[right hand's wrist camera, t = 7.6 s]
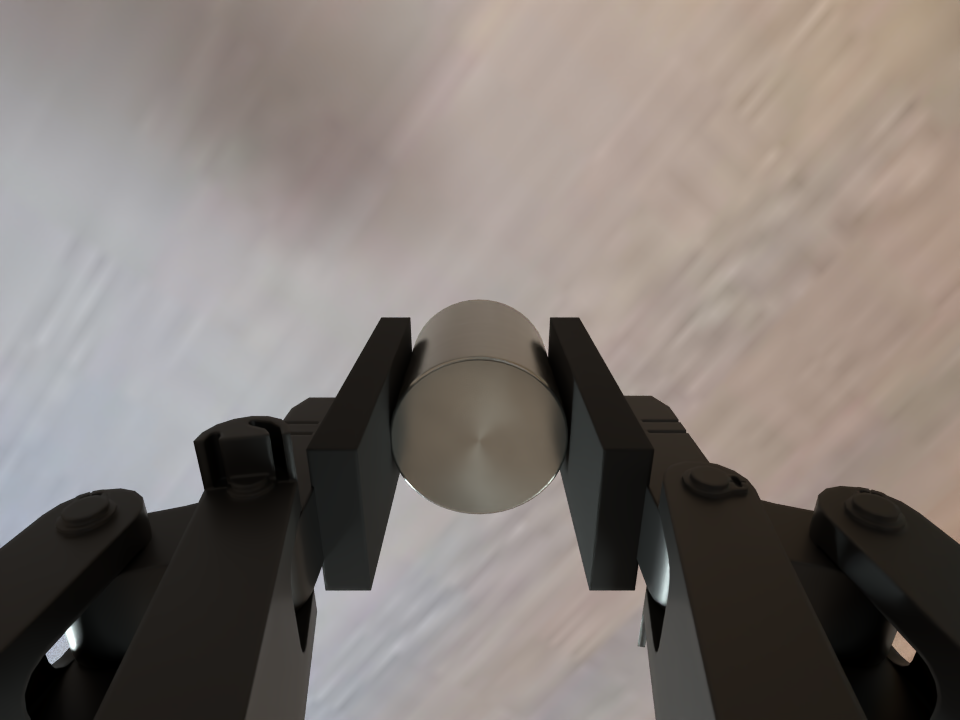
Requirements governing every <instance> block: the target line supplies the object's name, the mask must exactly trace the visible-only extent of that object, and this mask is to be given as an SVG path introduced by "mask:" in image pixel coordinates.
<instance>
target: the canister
mask: <svg viewBox="0 0 960 720" xmlns="http://www.w3.org/2000/svg"><path fill="white" fill-rule="evenodd" d="M390 442H391V452H392V456H393V459H394V462H395V464H396V466H397V468H398V470H399V472H400V473H401V475H402V476H403V478H404V479H405V480H406V482H407V483H408V484H409V485H410V486H411V487H412V488H413V489H414V490H415V491H416V492H417V493H419V494H420V495H421V496H423V497H424V498H426V499H427V500H429V501H430V502H432V503H434V504H436V505H438V506H441V507H443V508H446V509H449V510H453V511H456V512H461V513H468V514H490V513H497V512H502V511H506V510H509V509H513V508H515V507H517V506H520V505H522V504H524V503H526V502H528V501H529V500H531V499H533V498H534V497H535V496H537V495H538V494H540V493H541V492H542V491H543V490H544V489H545V488H546V487H547V486H548V485H549V484H550V483H551V482H552V480H553V479H554V478H555V476H556V475H557V473H558V472H559V470H560V468H561V466H562V464H563V462H564V460H565V457H566V453H567V450H568V444H569V425H568V419H567V415H566V412H565V409H564V406H563V403H562V400H561V397H560V394H559V390H558V387H557V384H556V381H555V378H554V375H553V372H552V369H551V366H550V363H549V359H548V356H547V353H546V350H545V347H544V344H543V341H542V339H541V337H540V335H539V333H538V331H537V330H536V328H535V327H534V325H533V324H532V323H531V322H530V321H529V320H528V319H527V318H526V317H525V316H524V315H523V314H522V313H520V312H519V311H517V310H515V309H514V308H512V307H510V306H508V305H505V304H502V303H499V302H496V301H490V300H468V301H463V302H459V303H456V304H453V305H451V306H449V307H447V308H445V309H443V310H441V311H440V312H438V313H437V314H436V315H435V316H433V317H432V318H431V319H430V320H429V321H428V322H427V323H426V325H425V326H424V327H423V329H422V330H421V332H420V333H419V335H418V338H417V340H416V342H415V345H414V348H413V351H412V354H411V357H410V360H409V363H408V367H407V370H406V373H405V376H404V379H403V382H402V385H401V388H400V391H399V394H398V397H397V400H396V403H395V406H394V409H393V412H392V416H391V419H390Z"/></svg>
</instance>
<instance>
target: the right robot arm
mask: <svg viewBox="0 0 960 720" xmlns="http://www.w3.org/2000/svg"><path fill="white" fill-rule="evenodd" d="M411 354H412V342H411V322H410V318H381V319H380V321H379V323H378V324H377V326H376V328H375V330H374V331H373V333H372V335H371V337H370V338H369V340H368V342H367V344H366V345H365V347H364V349H363V351H362V352H361V354H360V356H359V358H358V359H357V361H356V363H355V365H354V366H353V368H352V370H351V372H350V373H349V375H348V377H347V379H346V380H345V382H344V384H343V386H342V387H341V389H340V391H339V393H338V394H337V396H336V398H308V399H306V400H305V401H303V402H301V403H300V404H298V405H297V406H295V407H293V408H292V409H291V410H290V412H289V413H288V414H287V416H286V417H285V418H284V420H282V419H278V418H274V417H270V416H250V417H243V418H237V419H233V420H229V421H226V422H223V423H220V424H217V425H215V426H213V427H212V428H210V429H208V430H206V431H204V432H202V433H201V434H200V435H199V436H198V437H197V438H196V439H195V440H194V441H193V442H194V446H195V450H196V455H197V459H198V464H199V468H200V472H201V477H202V481H203V485H204V492H203V494H202V496H201V498H200V501H199V503H195V504H191V505H187V506H183V507H178V508H172V509H167V510H162V511H157V512H152V513H147V511H146V507H145V504H144V500H143V497H142V496H140V495H139V494H138V493H137V492H135V491H132V490H126V489H121V488H120V489H108V490H97V491H92V493H90V492H88V493H85V494H81V495H79V496H77V497H75V498H73V499H71V500H69V501H66V502H64V503H62V504H59V505H58V506H56V507H55V508H53V509H52V510H50V511H48V512H47V513H45V514H44V515H42V516H41V517H40V518H38V519H37V520H36V521H35V522H33V523H32V524H31V525H29V526H28V527H27V528H26V529H24V530H23V531H22V532H21V533H19V534H18V535H17V536H16V537H14V538H13V539H12V540H10V541H9V542H8V543H7V544H5V545H4V546H3V547H2V548H0V720H304V718H305V710H306V701H307V693H308V684H309V676H310V667H311V659H312V650H313V642H314V633H315V625H316V616H317V608H316V601H315V594H314V586H315V583H316V581H317V578H318V575H319V573H320V570H321V567H322V568H323V575H324V582H325V589H326V590H371V588H372V584H373V580H374V576H375V572H376V567H377V563H378V559H379V555H380V551H381V547H382V543H383V539H384V535H385V531H386V527H387V523H388V518H389V514H390V510H391V506H392V502H393V498H394V494H395V490H396V486H397V482H398V478H399V474H400V472H399V470H398V468H397V466H396V464H395V462H394V459H393V456H392V452H391V442H390V419H391V416H392V412H393V409H394V406H395V403H396V400H397V397H398V394H399V391H400V388H401V385H402V382H403V379H404V376H405V373H406V370H407V367H408V363H409V360H410V357H411ZM548 359H549V363H550V366H551V369H552V372H553V375H554V378H555V381H556V384H557V387H558V390H559V394H560V397H561V400H562V403H563V406H564V409H565V412H566V415H567V419H568V425H569V444H568V450H567V453H566V457H565V460H564V462H563V464H562V466H561V468H560V472H561V476H562V480H563V484H564V488H565V492H566V496H567V501H568V505H569V509H570V513H571V517H572V521H573V525H574V529H575V533H576V537H577V541H578V545H579V550H580V554H581V558H582V562H583V566H584V570H585V574H586V578H587V582H588V586H589V590H635V585H636V578H637V571H638V564H639V566H640V569H641V572H642V574H643V577H644V580H645V582H646V585H647V587H646V594H645V601H644V607H643V614H642V621H641V627H640V634H639V641H638V646H640V647H645V644H646V640H647V649H648V657H649V666H650V675H651V683H652V692H653V700H654V709H655V717H656V720H960V544H958V543H957V542H956V541H955V540H953V539H952V538H951V537H949V536H948V535H947V534H946V533H944V532H943V531H942V530H941V529H939V528H938V527H937V526H935V525H934V524H933V523H932V522H930V521H929V520H928V519H926V518H925V517H924V516H923V515H921V514H920V513H919V512H917V511H916V510H914V509H912V508H911V507H909V506H908V505H906V504H904V503H903V502H901V501H899V500H896V499H894V498H892V497H889V496H887V495H885V494H884V493H882V492H878V491H875V490H869V489H867V488H861V487H846V486H838V487H832V488H827V489H825V490H824V491H823V492H821V493H820V494H819V495H818V498H817V502H816V506H815V509H814V511H811V510H806V509H801V508H795V507H790V506H785V505H780V504H775V503H771V502H767V501H763V500H760V498H759V495H758V493H757V491H756V489H755V488H754V487H753V486H752V485H751V483H750V482H749V481H748V480H747V479H746V478H744V477H743V476H741V475H740V474H738V473H737V472H735V471H733V470H731V469H728V468H726V467H723V466H720V465H718V464H713V463H709V461H708V460H707V459H706V457H705V456H704V454H703V453H702V452H701V450H700V449H699V448H698V446H697V445H696V443H695V442H694V441H693V439H692V438H691V436H690V435H689V434H688V433H686V430H685V428H684V427H683V425H682V424H681V423H680V422H678V418H677V417H676V416H675V414H674V413H673V411H672V410H671V409H670V407H669V406H667V405H665V404H664V403H662V402H661V401H659V400H657V399H656V398H654V397H653V396H624V395H623V393H622V392H621V390H620V388H619V387H618V385H617V383H616V381H615V380H614V378H613V376H612V374H611V373H610V371H609V369H608V367H607V366H606V364H605V362H604V360H603V359H602V357H601V355H600V353H599V352H598V350H597V348H596V346H595V345H594V343H593V341H592V339H591V338H590V336H589V334H588V332H587V331H586V329H585V327H584V325H583V324H582V322H581V320H580V318H550V330H549V350H548ZM897 631H898V632H899V633H900V634H901V635H902V636H903V637H904V638H905V639H906V641H907V642H908V643H909V644H910V645H911V646H912V647H913V648H914V649H915V650H916V653H915V656H914V658H913V660H912V662H911V663H909V662H908V661H906V660H905V659H904V658H903V657H902V656H901V655H900V654H899V653H898V652H897V651H896V650H895V649H894V647H893V646H892V643H893V640H894V638H895V635H896V632H897ZM63 634H65V636H66V639H67V641H68V644H69V646H70V648H69V649H68V650H67V651H66V652H65V653H64V654H63V656H62V657H61V658H60V659H58V660H57V661H56V662H55V663H53V664H52V665H51V664H50V663H49V662H48V659H47V657H46V653H47V652H48V651H49V650H50V648H51V647H52V646H53V645H54V644H55V643H56V642H57V641H58V640H59V639H60V638H61V636H62V635H63Z"/></svg>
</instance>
